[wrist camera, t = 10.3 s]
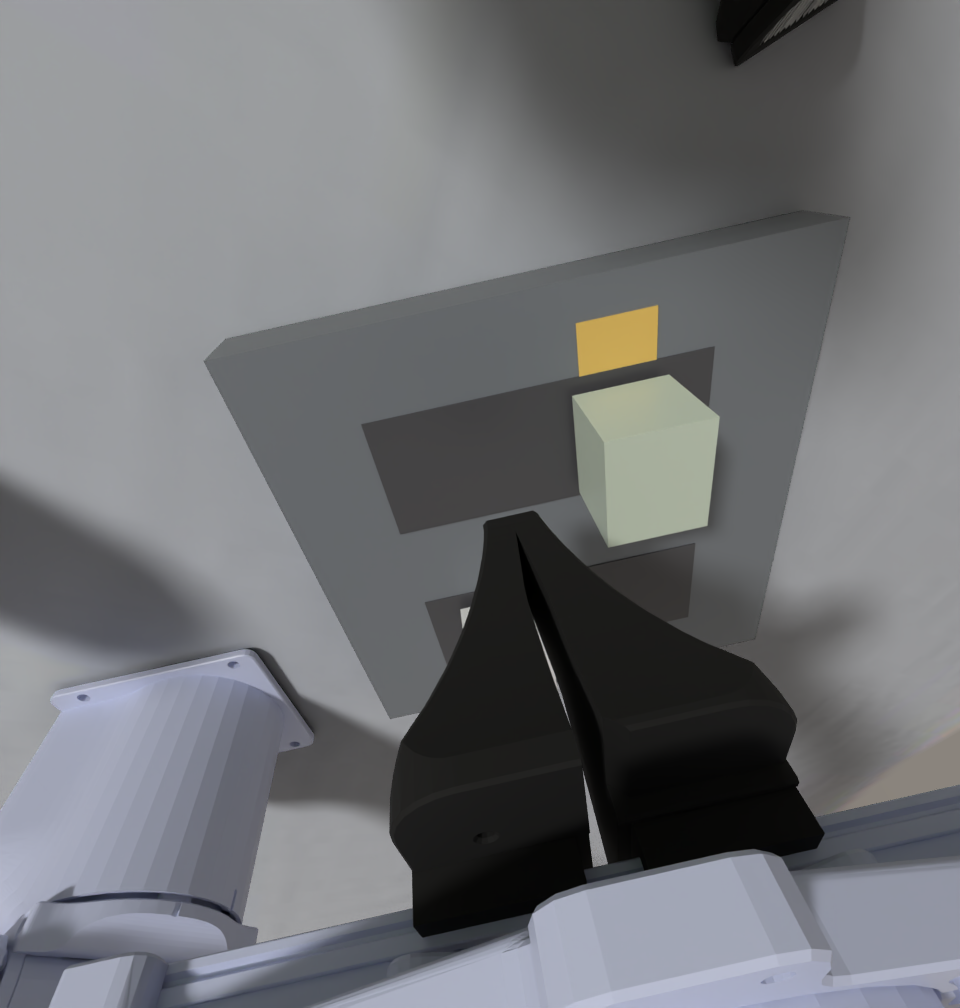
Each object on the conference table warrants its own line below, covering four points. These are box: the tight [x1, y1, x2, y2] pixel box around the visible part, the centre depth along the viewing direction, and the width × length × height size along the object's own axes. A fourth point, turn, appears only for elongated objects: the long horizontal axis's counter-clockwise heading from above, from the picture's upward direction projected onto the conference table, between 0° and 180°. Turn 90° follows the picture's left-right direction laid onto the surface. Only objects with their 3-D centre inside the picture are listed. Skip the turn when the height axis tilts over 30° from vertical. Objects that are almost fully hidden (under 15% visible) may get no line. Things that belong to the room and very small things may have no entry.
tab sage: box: [572, 375, 720, 548], centre depth 15 cm, size 3×4×3 cm
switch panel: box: [204, 211, 850, 719], centre depth 20 cm, size 18×18×2 cm
